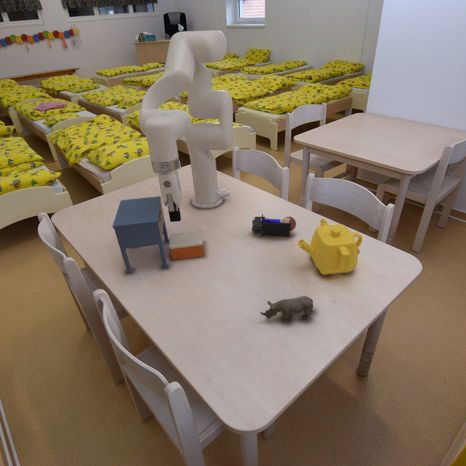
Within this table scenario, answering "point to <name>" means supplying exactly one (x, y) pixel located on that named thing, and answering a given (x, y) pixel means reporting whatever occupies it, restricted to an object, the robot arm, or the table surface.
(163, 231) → the drawer unit
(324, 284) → the table surface
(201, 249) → the storage box
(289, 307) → the rhino figurine
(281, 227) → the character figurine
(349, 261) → the teapot
